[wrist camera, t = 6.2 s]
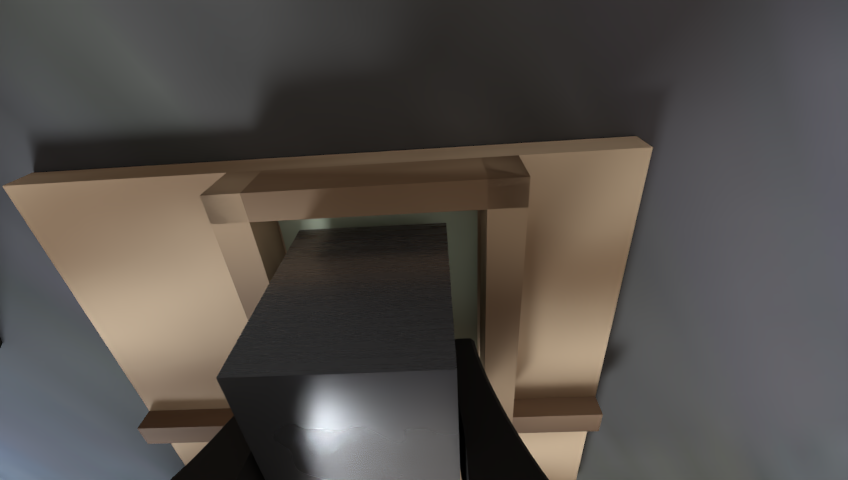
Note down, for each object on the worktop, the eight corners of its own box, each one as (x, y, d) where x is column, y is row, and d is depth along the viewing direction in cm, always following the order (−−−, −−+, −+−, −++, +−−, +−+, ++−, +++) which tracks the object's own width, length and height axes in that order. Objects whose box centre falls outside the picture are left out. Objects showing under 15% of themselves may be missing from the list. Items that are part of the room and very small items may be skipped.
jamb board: (564, 481, 21) (580, 537, 19) (223, 489, 22) (200, 544, 19) (636, 135, 11) (683, 168, 9) (32, 172, 12) (-52, 209, 10)
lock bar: (299, 230, 11) (212, 385, 7) (445, 222, 11) (457, 377, 6) (344, 407, 15) (308, 580, 10) (453, 404, 15) (463, 579, 10)
